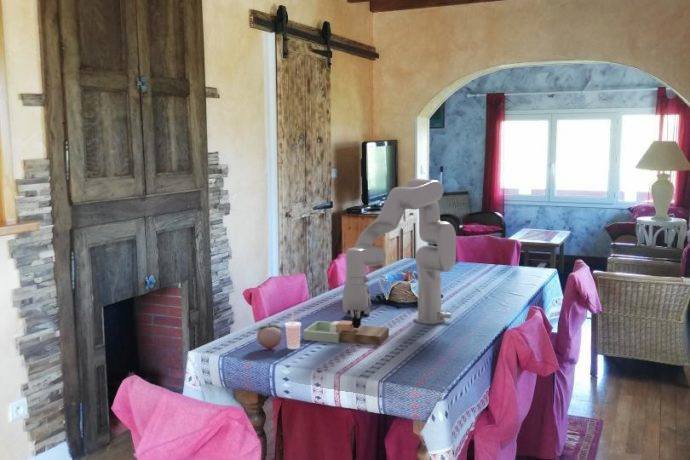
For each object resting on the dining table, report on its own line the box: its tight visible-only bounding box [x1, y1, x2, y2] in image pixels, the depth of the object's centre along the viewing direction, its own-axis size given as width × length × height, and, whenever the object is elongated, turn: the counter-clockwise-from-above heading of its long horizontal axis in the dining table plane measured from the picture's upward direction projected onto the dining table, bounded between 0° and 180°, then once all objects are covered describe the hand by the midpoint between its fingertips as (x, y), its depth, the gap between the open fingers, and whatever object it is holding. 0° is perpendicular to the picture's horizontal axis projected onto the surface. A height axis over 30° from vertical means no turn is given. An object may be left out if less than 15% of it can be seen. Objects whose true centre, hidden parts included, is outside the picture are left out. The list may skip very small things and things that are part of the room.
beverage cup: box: [284, 309, 302, 350], centre depth 250 cm, size 6×6×14 cm
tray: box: [302, 320, 342, 344], centre depth 265 cm, size 14×15×4 cm
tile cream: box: [330, 320, 342, 334], centre depth 263 cm, size 5×5×2 cm
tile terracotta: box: [338, 320, 353, 331], centre depth 261 cm, size 5×5×2 cm
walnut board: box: [338, 324, 390, 347], centre depth 260 cm, size 16×12×4 cm
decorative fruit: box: [256, 322, 283, 350], centre depth 248 cm, size 9×8×10 cm
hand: (356, 327), depth 260 cm, fingers closed
